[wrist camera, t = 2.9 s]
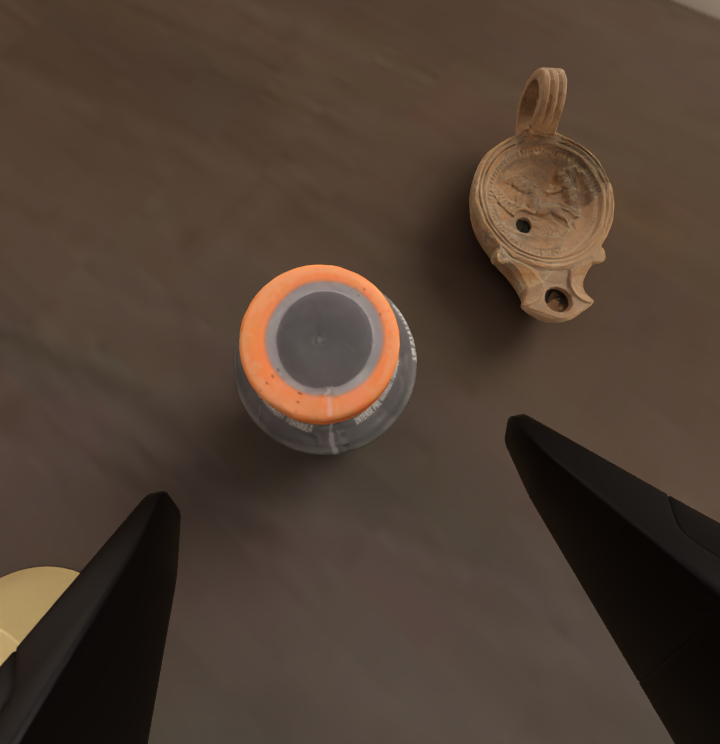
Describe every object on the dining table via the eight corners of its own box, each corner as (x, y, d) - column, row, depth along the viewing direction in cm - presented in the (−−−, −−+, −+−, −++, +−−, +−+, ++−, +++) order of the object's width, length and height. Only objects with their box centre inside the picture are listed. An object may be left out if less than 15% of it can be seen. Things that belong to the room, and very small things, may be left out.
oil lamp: (588, 336, 21) (662, 307, 16) (458, 332, 21) (493, 301, 16) (572, 133, 23) (633, 53, 18) (454, 127, 23) (483, 44, 18)
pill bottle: (258, 372, 20) (148, 297, 9) (350, 316, 21) (356, 182, 10) (316, 466, 19) (276, 515, 8) (409, 406, 20) (490, 374, 9)
